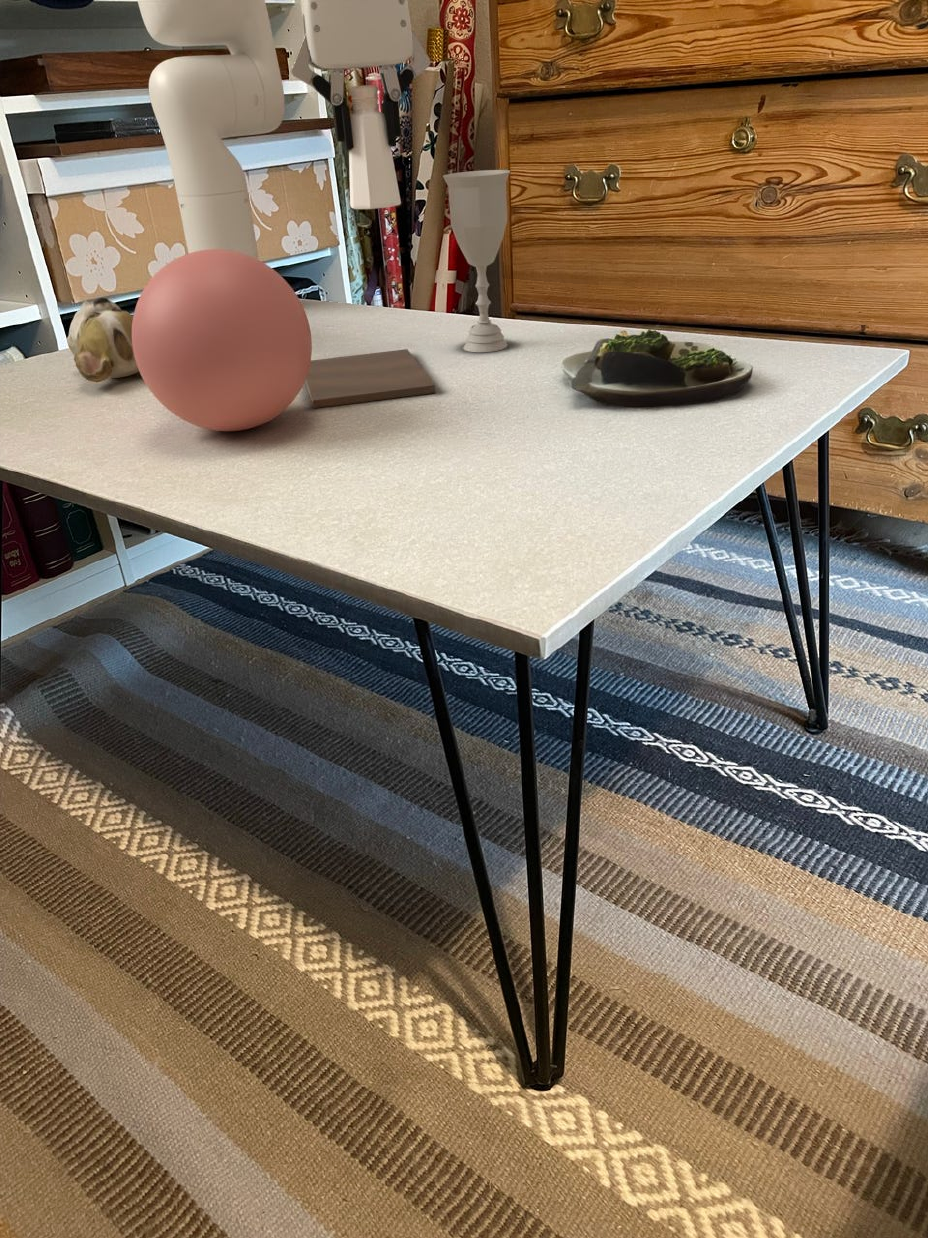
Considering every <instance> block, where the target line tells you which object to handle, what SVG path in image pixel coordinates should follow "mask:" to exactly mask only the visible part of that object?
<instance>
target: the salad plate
mask: <svg viewBox="0 0 928 1238" xmlns="http://www.w3.org/2000/svg"><path fill="white" fill-rule="evenodd" d="M560 368H561V370H562V372H563V373H564V375H565V376H566V377H568V379H569V380H571V382H570V388H572V389H573V390H575V391H578V392H580V393H582V394H584V395H586V396H587V397H588V398H590V399H591V400H593V401H594V402H596V403H598V404H601V405H605V406H609V407H617V408H628V409H649V408H650V409H651V408H660V407H670V406H671V407H672V406H681V405H682V406H683V405H691V404H698V403H704V402H710V401H716V400H719V399H724V398H726V397H731V396H733V395H735V394H737V393H738V392H739V391H740V390H741V389H742V388H743V387H744V386H745V385H746V384H747V383H748V382H749V381H750V380H751V378H752V376H753V365H751V364H750V363H749V362H747V361H744V360H742V359H739V358H737V357H735V356H732V355H731V354H728V353H726V352H725V351H724V350H722V349H719V348H717V347H715V346H714V345H711V344H708V343H703V342H697V341H695V342H694V341H671V340H669V339H668V337H667V336H666V335H664V334H663V333H661V332H660V331H657V330H656V329H655V330H652V329H650V328H647V330H646V332H645V331H642V330H641V331H640V333H637V334H628V332H627V330H621V331H620V332H619V334H617V333H616V334H615V335H614V337H613V338H601V339H600V338H599V340H597V341H596V343H595V345H594V347H593V349H592V350H591V351H584V352H580V353H575V354H571V355H569V356H567V357H565V358H564V359H562V360H561V361H560Z"/></svg>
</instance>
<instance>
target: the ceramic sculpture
mask: <svg viewBox="0 0 928 1238" xmlns="http://www.w3.org/2000/svg"><path fill="white" fill-rule="evenodd" d="M133 316H134V315H132V314H131V313H130V312H128V311H127V310H124V309H121V307H119V306H118V305H117V304H116V303H115V302H113V301H112V300H109V298H106V297H99V298H97V299H95V300H93V301H92V302H90V301H88V300H84V301H83V302H82V304H81V307H80V308H79V309H78V310H77V312H75V314H74V315H73V318H72V320H71V321H70V322H71V323H70V325H69V331H68V335H67V338H66V342H67V346H68V348H69V350H70V352H71V353H72V355H73V356H74V357H73V361H74V362H75V367H76V369H77V370H78V372H79V374H81V376H82V377H83V378H84V379H85V380H87V381H90V382H93V383H101V382H104V381H105V380H107V379H108V378H112V379H120V378H125V377H129V376H133V375H135V374H137V373H140V372H139V369H138V367H137V364H136V360H135V357H134V352H133V346H132V322H133Z"/></svg>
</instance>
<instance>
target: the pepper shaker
mask: <svg viewBox="0 0 928 1238" xmlns="http://www.w3.org/2000/svg"><path fill="white" fill-rule="evenodd" d="M378 93H379V87H378V85H375V84H367V85H354V86H351V87H350V88H349V94H350V97H351V98H350V100H351V105H352V111H353V113H352V114H350V119H351V128H352V137H353V146H354V148H353V149H352V150H348V161H349V162H348V165H349V169H348V171H349V172H348V173H349V206H350V207H351V208H352V209H353V210H375V209H384V208H393V207H396V206H397V207H398V206H400V205H401V204H402V201H401V195H400V189H399V184H398V179H397V173H396V169H395V162H394V158H393V152H392V147H390V146H389V144H388V135H387V127H386V119H385V115H384V114H383V113H382V112H381V111H379V109H380V108H379V97H378Z"/></svg>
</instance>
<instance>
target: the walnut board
mask: <svg viewBox="0 0 928 1238" xmlns="http://www.w3.org/2000/svg"><path fill="white" fill-rule="evenodd" d="M305 385H306V387H307V390H308V394H309V398H310V400H311V404H312V408H313V409H319V408H327V407H335V406H342V405H343V406H344V405H350V404H359V403H366V402H374V401H383V400H390V399H396V398H397V399H398V398H399V399H400V398H407V397H414V396H421V395H422V396H423V395H430V394H436V385H435V383H434V382H433V381H432V379H431V378H430V377H429V375H427V373H426V371H425V370H424V369H423V368H422V367H421V365H420V364H419V362H418V361H417V360H416V358H415V357H414V356H413V355H412V353H411V351H410V350H409V349H408V348H404V349H397V350H396V349H395V350H386V351H379V352H370V353H362V354H355V355H354V354H353V355H346V356H345V355H344V356H337V357H329V358H320V359H311V362H310V367H309V371H308V374H307V377H306V380H305Z"/></svg>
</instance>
